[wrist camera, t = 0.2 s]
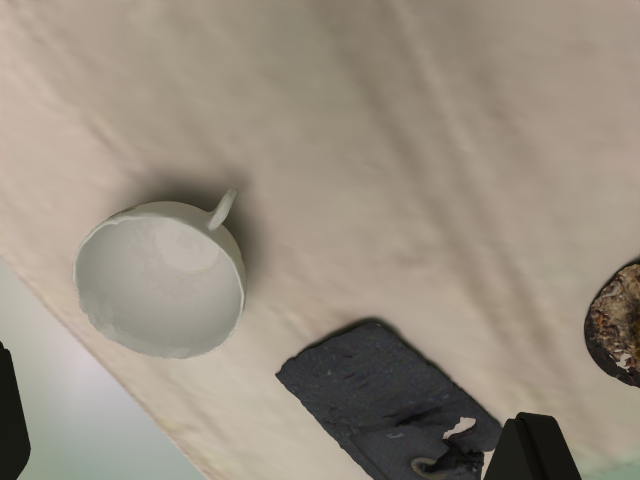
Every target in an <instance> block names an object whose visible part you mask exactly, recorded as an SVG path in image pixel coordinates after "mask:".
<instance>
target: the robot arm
mask: <svg viewBox="0 0 640 480" xmlns="http://www.w3.org/2000/svg"><path fill="white" fill-rule="evenodd" d="M30 450H31V447H30V442H29V437H28V432H27V427H26V423H25V418H24V414H23V409H22V404H21V400H20V395H19V390H18V386H17V381H16V376H15V372H14V367H13V362H12V358H11V354H10V351H9V350H8V349H4V347H3V344H2V342H1V341H0V480H16V479H17V478H18V476H19V475H20V474H21V472H22V471H23V469H24V468H25V466H26V464H27V462H28V459H29V456H30ZM483 480H582V479H581V477H580V474H579V472H578V470H577V467H576V465H575V462H574V460H573V458H572V455H571V453H570V451H569V448H568V446H567V444H566V441H565V439H564V437H563V434H562V432H561V430H560V427H559V425H558V423H557V421H556V420H555V418H554V417H552V416H547V415H540V414H533V413H525V412H520V413H518V414H517V416H516V418H515V419H508V420H507V421H506V423H505V425H504V428H503V430H502V433H501V435H500V438H499V441H498V443H497V446H496V448H495V451H494V453H493V456H492V459H491V461H490V464H489V466H488V469H487V471H486V474H485V476H484V479H483Z"/></svg>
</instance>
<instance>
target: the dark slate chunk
mask: <svg viewBox="0 0 640 480" xmlns="http://www.w3.org/2000/svg"><path fill="white" fill-rule="evenodd" d="M275 375H276V377H277V378H278V379H279V381H280V382H281V383H282V384H283V385H284V386H285V387H286V389H287V390H288V391H290V392H291V393H292V394H294V395H295V396H296V397H297V398H298V399H299V400H300V401H301V403H302V405H303V406H305V407H306V409H307V410H308V411H309V412H310V413H311V414H312V415H313V416H314V417H315V419H316V420H317V421H318V422H319V423H320V424H321V426H322V427H323V428H324V430H325V431H327V432H328V434H329V435H330V436H332V437H333V438H334V439H335V440H336V441H337V442H338V443H339V445H340V447H341V448H342V449H344V450H345V451H346V452H347V453H348V454H349V455H350V456H351V458H352V459H353V460H354V461H355V462H356V463H357V464H359V465H360V466H361V467H362V468H363V470H364V471H365V472H366V473H367V474H368V475H369V476H371V477H372V478H373V479H374V480H481V473H482V467H483V466H484V454H482V453H481V452H482V451H484V452H489V451H493V450H494V449H495V448H496V446H497V443H498V441H499V438H500V435H501V433H502V430H503V429H502V428H501V426H500V425H499V424H497V423H496V422H494V421H493V420H492V419H491V417H490V416H488V415H487V414H486V413H485V412H484V411H483V410H482V409H481V408H480V407H479V406H478V405H477V404H476V403H475V402H474V400H472V399H470V398H469V397H468V396H467V394H466V393H464V392H463V391H459V389H458V387H457V386H455V385H453V383H452V382H450V381H448V380H447V379H446V378H445V377H444V376H443V375H442V374H441V373H440V372H439V371H438V370H437V369H436V368H434V367H432V366H431V365H429V364H427V363H426V362H425V360H424V359H423V358H422V357H420V356H419V355H417V354H416V353H415V352H413V351H412V350H411V349H410V348H409V347H407V346H405V345H404V344H402V343H401V341H400V339H399V338H397V337H396V335H395V334H393V333H392V332H391V331H389V330H388V329H386V328H384V327H382V326H381V325H379V324H376V323H368V324H365V325H362V326H360V327H358V328H356V329H354V330H352V331H350V332H347V333H344V334H342V335H340V336H337V337H332V338H331V339H330V340H328V341H326V342H325V343H323V344H321V346H318V347H313V348H310V349H307V350H305V351H304V352H303V353H301V354H299V355H298V356H297V357H296V358H294V359H291V360H288V361H287V362H286V364H285V365H283V366H282V368H281V371H280V373H279V374H275ZM460 417H464V418H466V417H468V418H474V419H476V422H475V424H474V425H473V426H472V427H471V428H468V429H466V430H465V431H463V432H460V433H455V434H452V435H451V436H450V437H449V438H448V440H447V439H443V440H442V438H443V435H444V433H445V432H447V431H448V430H452V429H454V427H455V425H456V424H458V423H460Z"/></svg>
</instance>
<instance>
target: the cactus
mask: <svg viewBox="0 0 640 480" xmlns="http://www.w3.org/2000/svg"><path fill="white" fill-rule="evenodd" d="M599 309H601V310H604V311H600V310H599ZM604 314H608V315H604ZM593 317H594V318H593ZM603 319H604V320H603ZM584 332H585V339H586V345H587V348H588V351H589V353H590V355H591V357H592V358H593V360H594V361H595V362H596V364H597V365H598V366H599V367H600V368H601V369H602V370H603V371H604V372H606V373H607V374H608V375H610V376H612V377H615V378H617V379H618V380H620V381H622V382H623V383H625V384H628V385H630V386H636V387H638V388H640V264H634V265H632V266H629V267H626V268H625V269H624V270H622V271H620V272H619V273H617V275H616V277H615V278H614V280H613V282H611V284H610V285H609V286H606V287H605V288H604V289H603V290H602V292H601V294H600V295H599V297H598V298H597V299H596V300H595V302H594V304H593V305H591V310H590V313H589V316H588V317H587V318H586V320H585V326H584ZM616 349H620V350H623V351H621V352H615V350H616ZM623 353H626V354H630V355H631V356H632V357H630V358H628V359H626V360H625V361H627V362H626V365H625V366H631V367H630V368H628V369H627V370H628V371H629V372H628V373H627V370H626V369H623V368H621V367H620V366H618V367H617V364H616V362H620V357H621V355H622V354H623ZM609 355H611V356H612V357H613V358H611V357H610V356H609ZM615 361H616V362H615ZM625 366H624V367H625Z"/></svg>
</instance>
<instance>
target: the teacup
mask: <svg viewBox="0 0 640 480" xmlns="http://www.w3.org/2000/svg"><path fill="white" fill-rule="evenodd" d="M236 195H237V190H236V189H234V188H230V189H228V190H227V192H226V193H225V195H224V197H223V198H222V200H221V201H220V203H219V204H218V206H217V207H216V209H215V210H214V211H212V212H206V211H203V210H201V209H199V208H197V207H195V206H192V205H189V204H185V203H180V202H172V201H159V202H148V203H144V204H140V205H137V206H134V207H131V208H128V209H126V210H123V211H121V212H119V213H117V214H115V215H113V216H111V217H110V218H108V219H107V220H105V221H104V222H102V223H101V224H99V225H98V226H96V227H95V228H94V229H93V230H92V231H91V232H90V233H89V234H88V235H87V236H86V237H85V239H84V240H83V241H82V242H81V244H80V245H79V247H78V249H77V251H76V254H75V257H74V261H73V276H72V280H73V283H74V285H75V290H76V292H77V295H78V299H79V306H80V308H81V310H82V311H83V313H85V314H86V315H88V317H89V320H90V323H91V324H92V325H93V326H95V328H96V330H97V331H99V332H101V333H102V334H103V335H104V336H105V337H106V338H107V339H109V340H111V341H112V342H116V343H118V344H120V345H122V346H124V347H126V348H128V349H131V350H133V351H135V352H138V353H142V354H146V355H149V356H153V357H159V358H168V359H170V358H177V359H186V358H191V357H196V356H200V355H204V354H207V353H210V352H213V351H215V350H216V349H218V348H219V347H220V346H222V345H223V344H224V343H225V342H226V341H227V340H228V339H229V338H230V337H231V335H232V334H233V332H234V331H235V330H236V328H237V326H238V324H239V322H240V320H241V317H242V314H243V311H244V307H245V301H246V290H247V283H246V271H245V266H244V261H243V257H242V254H241V251H240V249H239V247H238V245H237V243H236V241H235V240H234V238H233V237H232V235H231V234H230V232H229V231H228V230H227V229H226V228H225V227H224V226H223V225H222V224H221V223H222V222H223V221H224V220H225V218H226V217H227V215H228V213H229V211H230V208H231V206H232V203H233V201H234V200H235V198H236Z"/></svg>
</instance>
